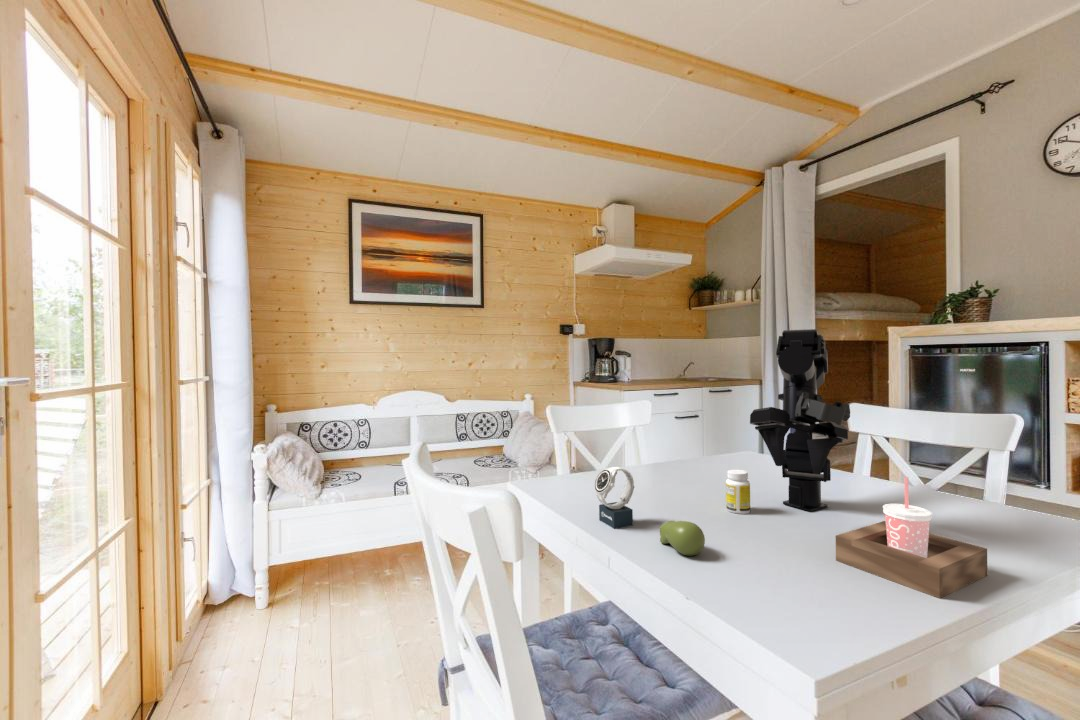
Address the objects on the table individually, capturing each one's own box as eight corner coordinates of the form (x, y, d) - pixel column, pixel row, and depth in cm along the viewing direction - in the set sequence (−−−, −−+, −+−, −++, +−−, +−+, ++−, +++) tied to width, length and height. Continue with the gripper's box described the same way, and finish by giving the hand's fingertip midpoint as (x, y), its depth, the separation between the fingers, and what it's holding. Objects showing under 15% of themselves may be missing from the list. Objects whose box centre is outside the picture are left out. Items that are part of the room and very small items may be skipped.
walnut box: (884, 543, 84) (884, 520, 84) (987, 575, 72) (987, 548, 72) (835, 560, 78) (835, 535, 78) (939, 598, 65) (939, 568, 65)
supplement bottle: (750, 508, 104) (750, 470, 104) (750, 515, 100) (749, 475, 100) (727, 506, 106) (726, 468, 106) (725, 512, 102) (724, 473, 102)
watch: (590, 521, 98) (590, 467, 98) (624, 515, 101) (623, 463, 101) (605, 530, 93) (604, 473, 93) (640, 524, 96) (639, 468, 96)
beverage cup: (873, 559, 78) (872, 473, 78) (909, 558, 78) (908, 471, 78) (904, 577, 72) (903, 483, 72) (943, 575, 72) (942, 481, 72)
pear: (680, 526, 79) (650, 518, 88) (683, 561, 78) (653, 548, 87) (709, 522, 80) (677, 514, 90) (713, 556, 79) (680, 544, 89)
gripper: (795, 371, 85) (794, 460, 81) (873, 394, 90) (876, 479, 86) (749, 382, 96) (746, 461, 91) (822, 402, 101) (822, 478, 96)
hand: (798, 470), depth 91 cm, fingers open, 9 cm apart
